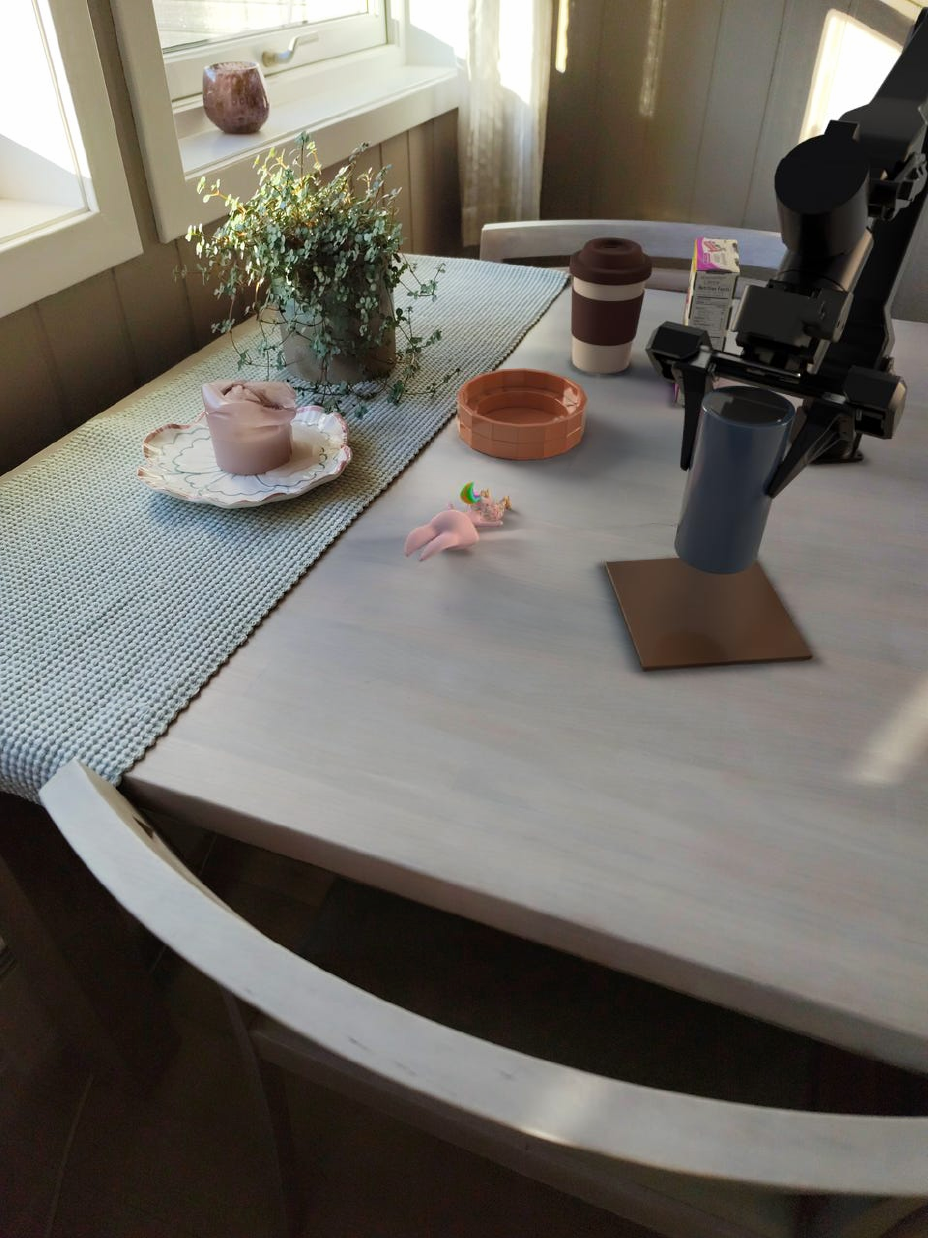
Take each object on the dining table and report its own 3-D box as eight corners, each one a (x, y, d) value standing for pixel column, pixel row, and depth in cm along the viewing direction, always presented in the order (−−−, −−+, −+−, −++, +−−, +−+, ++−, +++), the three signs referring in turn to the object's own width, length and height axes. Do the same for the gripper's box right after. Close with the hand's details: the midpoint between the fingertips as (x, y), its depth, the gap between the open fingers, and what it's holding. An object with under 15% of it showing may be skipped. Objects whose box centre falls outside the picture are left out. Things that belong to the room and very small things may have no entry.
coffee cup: (619, 388, 108) (634, 264, 98) (548, 369, 112) (556, 249, 102) (650, 359, 114) (667, 241, 104) (582, 343, 118) (593, 227, 108)
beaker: (683, 520, 74) (711, 378, 66) (762, 537, 72) (801, 393, 64) (666, 563, 70) (693, 416, 61) (750, 582, 68) (790, 433, 59)
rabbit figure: (470, 510, 89) (383, 563, 78) (475, 455, 86) (385, 503, 75) (522, 528, 87) (441, 586, 75) (530, 473, 83) (446, 525, 72)
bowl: (569, 401, 105) (572, 366, 102) (594, 460, 94) (598, 423, 91) (453, 406, 104) (452, 370, 101) (464, 466, 93) (464, 429, 90)
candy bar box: (673, 368, 112) (695, 235, 102) (712, 371, 111) (738, 238, 101) (671, 407, 104) (695, 267, 93) (714, 411, 103) (742, 270, 92)
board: (751, 557, 81) (752, 553, 80) (811, 659, 70) (813, 655, 70) (604, 566, 80) (604, 561, 79) (642, 671, 69) (643, 666, 69)
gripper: (674, 209, 62) (586, 410, 62) (953, 258, 54) (850, 489, 54) (699, 287, 72) (623, 460, 72) (937, 338, 64) (850, 533, 64)
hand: (725, 482), depth 65 cm, fingers closed on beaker, 6 cm apart
